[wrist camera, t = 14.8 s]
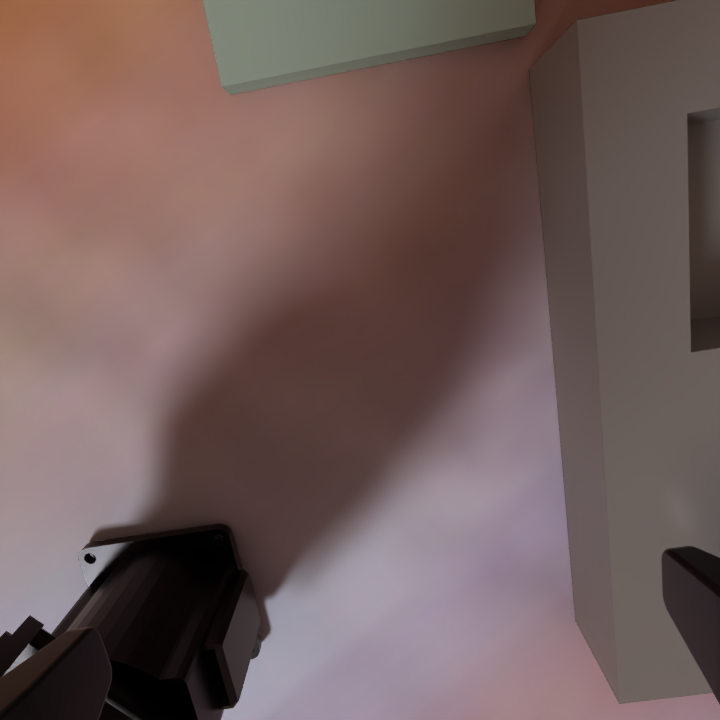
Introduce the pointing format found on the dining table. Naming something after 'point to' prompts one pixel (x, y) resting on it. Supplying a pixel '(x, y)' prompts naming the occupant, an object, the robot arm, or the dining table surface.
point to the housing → (634, 318)
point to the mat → (348, 34)
